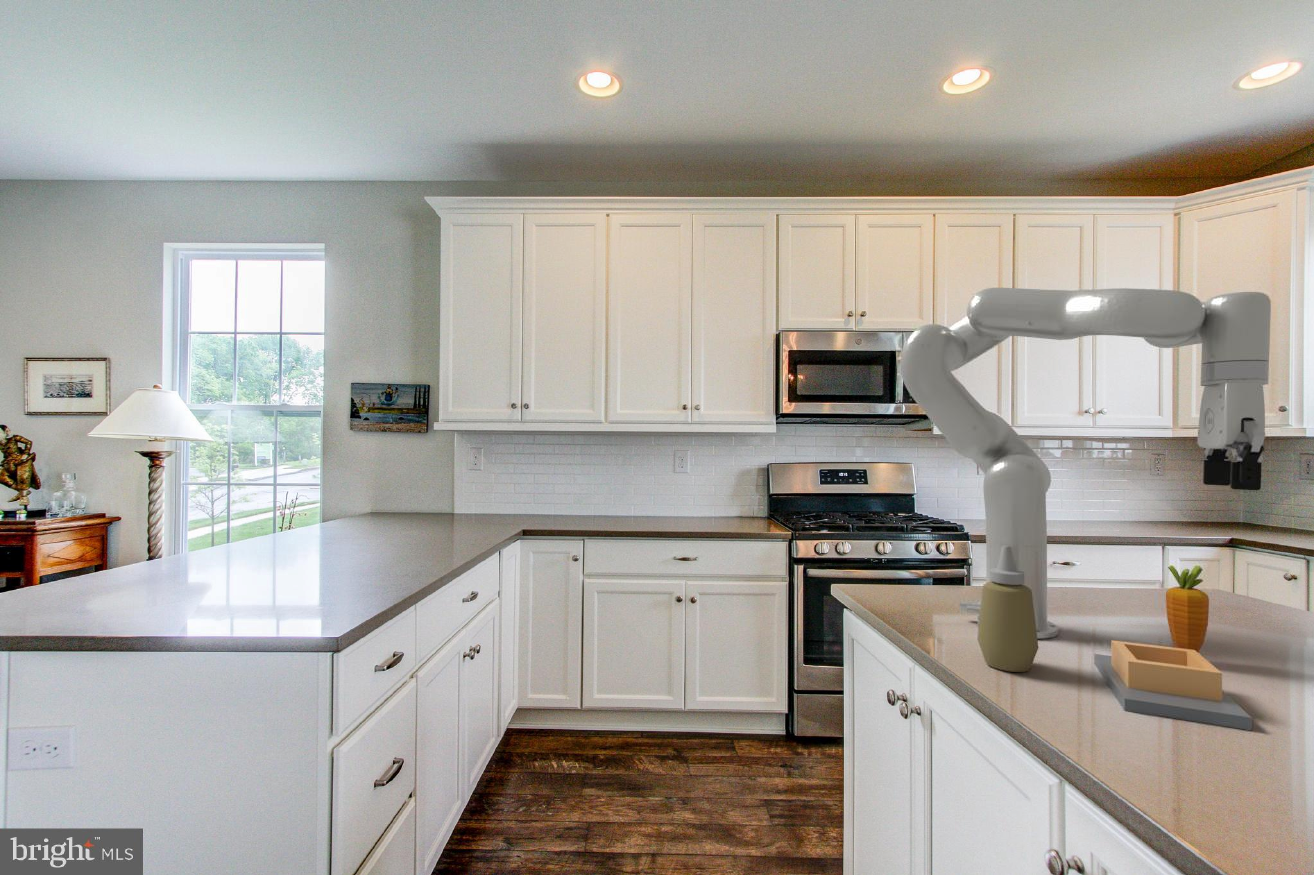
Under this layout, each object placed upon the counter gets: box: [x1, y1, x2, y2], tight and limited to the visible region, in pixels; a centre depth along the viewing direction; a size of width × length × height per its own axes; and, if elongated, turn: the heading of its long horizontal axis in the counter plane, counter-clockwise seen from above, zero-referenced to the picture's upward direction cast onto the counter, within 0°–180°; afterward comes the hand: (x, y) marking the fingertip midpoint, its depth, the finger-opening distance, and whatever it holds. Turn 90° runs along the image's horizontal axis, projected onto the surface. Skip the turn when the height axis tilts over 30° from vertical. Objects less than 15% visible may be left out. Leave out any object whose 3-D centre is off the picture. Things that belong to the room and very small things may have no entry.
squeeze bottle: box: [977, 546, 1039, 673], centre depth 91 cm, size 8×8×18 cm
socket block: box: [1093, 639, 1253, 731], centre depth 81 cm, size 12×18×5 cm, turn 154°
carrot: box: [1165, 565, 1210, 654], centre depth 93 cm, size 5×5×15 cm
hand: (1230, 487), depth 92 cm, fingers open, 9 cm apart
